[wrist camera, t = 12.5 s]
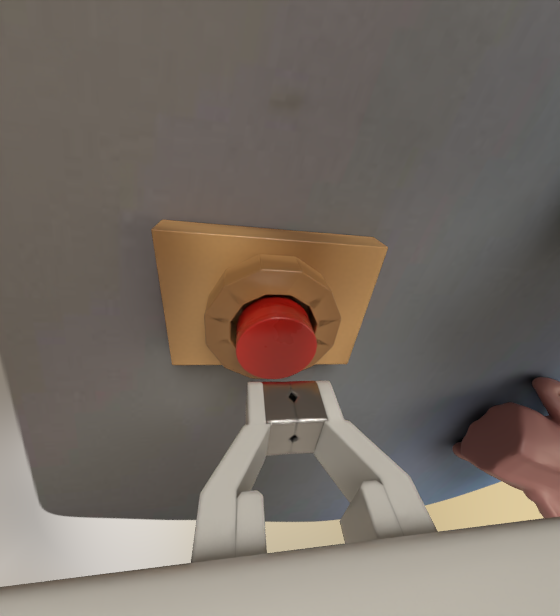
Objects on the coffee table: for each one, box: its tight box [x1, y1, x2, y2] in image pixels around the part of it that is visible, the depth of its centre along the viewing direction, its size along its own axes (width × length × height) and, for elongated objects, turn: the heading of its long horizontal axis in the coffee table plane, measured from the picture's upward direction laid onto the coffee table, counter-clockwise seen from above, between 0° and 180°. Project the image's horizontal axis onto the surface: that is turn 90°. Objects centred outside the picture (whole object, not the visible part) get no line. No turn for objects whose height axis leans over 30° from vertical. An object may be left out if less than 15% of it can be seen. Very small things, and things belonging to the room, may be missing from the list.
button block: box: [151, 220, 388, 379], centre depth 14 cm, size 11×8×4 cm
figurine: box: [452, 377, 560, 518], centre depth 24 cm, size 12×10×15 cm
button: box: [236, 297, 317, 379], centre depth 12 cm, size 4×4×2 cm
